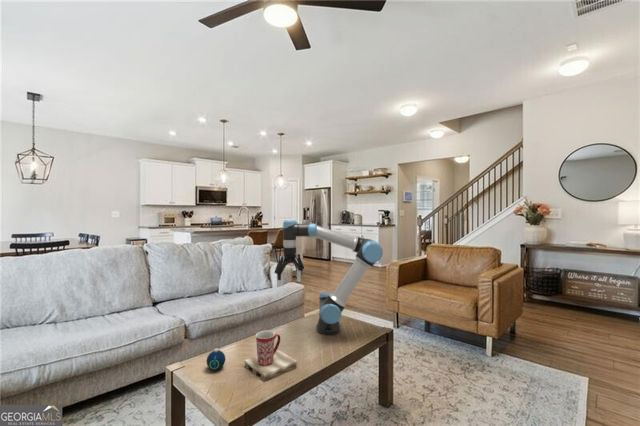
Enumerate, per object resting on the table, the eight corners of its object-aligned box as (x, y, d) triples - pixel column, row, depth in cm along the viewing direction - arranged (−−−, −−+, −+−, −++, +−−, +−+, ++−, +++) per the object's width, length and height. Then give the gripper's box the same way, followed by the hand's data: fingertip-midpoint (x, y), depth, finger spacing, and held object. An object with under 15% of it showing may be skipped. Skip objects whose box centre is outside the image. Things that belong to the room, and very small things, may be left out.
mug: (261, 369, 139) (261, 340, 138) (252, 361, 146) (252, 333, 145) (285, 360, 147) (285, 332, 146) (275, 353, 154) (275, 327, 153)
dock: (275, 354, 160) (275, 348, 159) (297, 367, 146) (297, 361, 146) (244, 366, 147) (244, 360, 147) (265, 381, 134) (265, 375, 134)
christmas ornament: (202, 372, 142) (202, 350, 142) (213, 363, 150) (213, 343, 150) (218, 374, 140) (218, 353, 139) (228, 365, 148) (228, 345, 148)
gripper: (301, 244, 188) (301, 278, 189) (268, 248, 171) (268, 286, 171) (310, 245, 183) (310, 280, 183) (276, 249, 166) (276, 288, 166)
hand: (289, 283), depth 177 cm, fingers open, 13 cm apart
